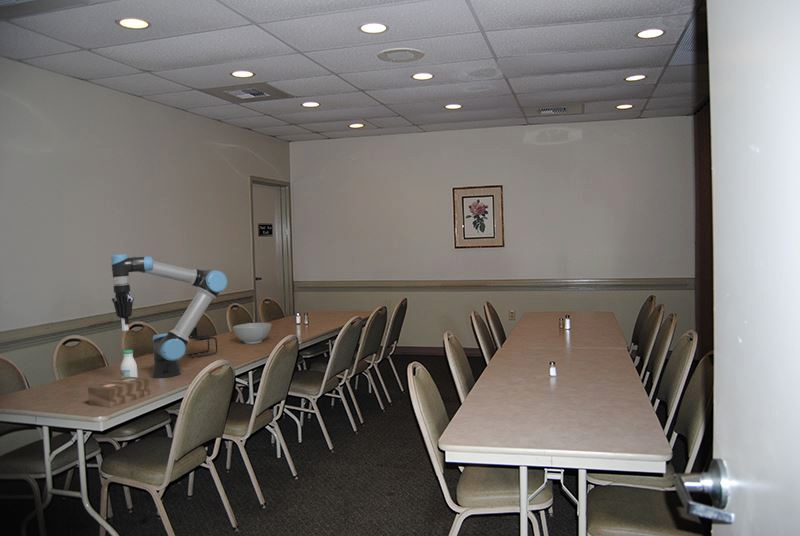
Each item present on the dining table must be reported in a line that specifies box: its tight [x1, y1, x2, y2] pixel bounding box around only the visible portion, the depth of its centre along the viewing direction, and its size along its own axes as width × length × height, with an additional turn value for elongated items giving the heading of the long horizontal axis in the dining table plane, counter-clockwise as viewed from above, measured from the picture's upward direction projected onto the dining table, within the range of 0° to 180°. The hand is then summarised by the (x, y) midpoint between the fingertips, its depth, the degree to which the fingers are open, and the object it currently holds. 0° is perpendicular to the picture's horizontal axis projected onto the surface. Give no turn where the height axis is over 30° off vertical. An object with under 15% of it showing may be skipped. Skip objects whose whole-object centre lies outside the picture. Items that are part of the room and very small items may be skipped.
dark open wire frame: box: [185, 325, 219, 359], centre depth 382 cm, size 13×17×22 cm
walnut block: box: [87, 377, 151, 409], centre depth 279 cm, size 22×14×8 cm, turn 155°
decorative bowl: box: [232, 322, 272, 345], centre depth 424 cm, size 27×27×12 cm
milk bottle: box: [120, 349, 138, 379], centre depth 297 cm, size 8×8×20 cm
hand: (125, 330), depth 303 cm, fingers closed
